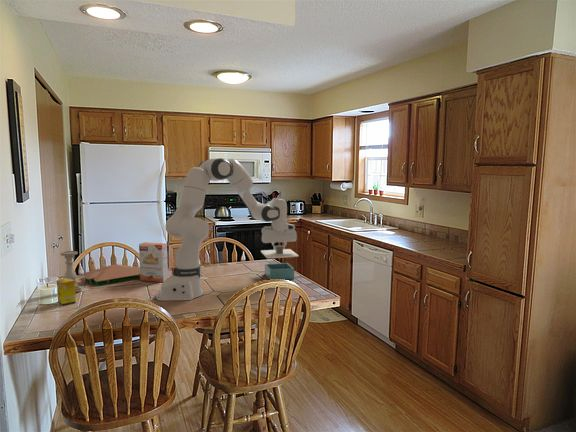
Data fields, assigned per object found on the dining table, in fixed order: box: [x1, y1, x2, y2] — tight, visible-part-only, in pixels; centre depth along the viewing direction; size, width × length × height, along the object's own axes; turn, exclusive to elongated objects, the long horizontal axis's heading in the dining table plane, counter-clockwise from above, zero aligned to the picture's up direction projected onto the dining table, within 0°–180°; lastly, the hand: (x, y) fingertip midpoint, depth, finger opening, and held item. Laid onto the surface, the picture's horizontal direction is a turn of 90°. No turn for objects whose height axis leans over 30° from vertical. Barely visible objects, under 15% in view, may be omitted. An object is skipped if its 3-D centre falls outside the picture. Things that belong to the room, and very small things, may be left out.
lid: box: [260, 244, 299, 259], centre depth 237 cm, size 18×18×5 cm
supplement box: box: [56, 278, 76, 307], centre depth 190 cm, size 6×6×11 cm
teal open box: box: [264, 262, 295, 280], centre depth 239 cm, size 14×14×6 cm
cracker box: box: [138, 241, 169, 283], centre depth 228 cm, size 14×6×21 cm, turn 79°
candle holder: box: [60, 250, 82, 294], centre depth 206 cm, size 9×9×20 cm
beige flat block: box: [82, 263, 140, 287], centre depth 234 cm, size 23×33×8 cm
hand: (279, 249), depth 237 cm, fingers closed on lid, 3 cm apart
